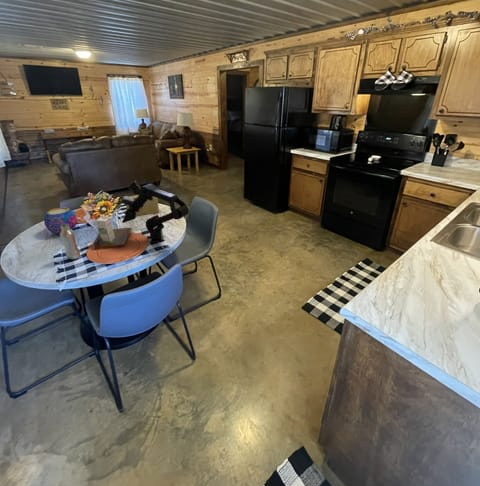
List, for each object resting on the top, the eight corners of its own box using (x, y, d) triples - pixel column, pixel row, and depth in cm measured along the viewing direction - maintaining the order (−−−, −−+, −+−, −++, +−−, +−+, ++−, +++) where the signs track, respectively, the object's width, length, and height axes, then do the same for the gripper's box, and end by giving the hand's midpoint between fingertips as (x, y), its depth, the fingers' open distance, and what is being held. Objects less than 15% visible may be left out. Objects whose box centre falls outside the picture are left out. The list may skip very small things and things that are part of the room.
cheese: (128, 219, 189) (125, 199, 183) (126, 214, 197) (123, 195, 191) (159, 213, 199) (157, 194, 193) (156, 208, 207) (154, 190, 201)
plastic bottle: (75, 261, 140) (65, 228, 132) (64, 260, 141) (53, 227, 133) (83, 255, 146) (75, 223, 138) (73, 254, 147) (64, 222, 139)
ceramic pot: (82, 223, 182) (76, 203, 176) (76, 235, 167) (70, 214, 161) (53, 227, 177) (46, 207, 171) (44, 240, 161) (36, 218, 156)
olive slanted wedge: (131, 229, 174) (130, 223, 173) (124, 246, 154) (122, 239, 153) (105, 231, 172) (104, 225, 170) (95, 249, 152) (93, 242, 150)
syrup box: (115, 237, 161) (110, 216, 155) (109, 242, 156) (105, 220, 150) (106, 237, 161) (101, 215, 156) (100, 242, 156) (95, 220, 150)
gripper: (132, 187, 160) (116, 205, 163) (125, 197, 144) (108, 217, 146) (147, 198, 165) (131, 215, 167) (142, 209, 148) (125, 229, 150)
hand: (124, 219), depth 158 cm, fingers open, 9 cm apart
